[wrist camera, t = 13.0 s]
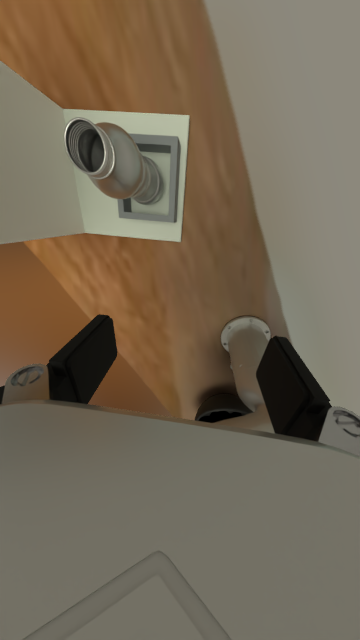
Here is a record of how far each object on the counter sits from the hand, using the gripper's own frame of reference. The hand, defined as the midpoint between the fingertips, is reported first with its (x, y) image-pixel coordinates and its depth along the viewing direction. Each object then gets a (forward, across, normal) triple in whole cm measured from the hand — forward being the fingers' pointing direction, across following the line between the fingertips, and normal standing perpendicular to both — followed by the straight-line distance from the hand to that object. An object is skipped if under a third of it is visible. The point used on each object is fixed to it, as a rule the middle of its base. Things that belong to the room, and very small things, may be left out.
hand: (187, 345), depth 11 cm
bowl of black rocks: (+32, -15, +48) cm, 60 cm away
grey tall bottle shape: (+31, +11, -11) cm, 35 cm away
